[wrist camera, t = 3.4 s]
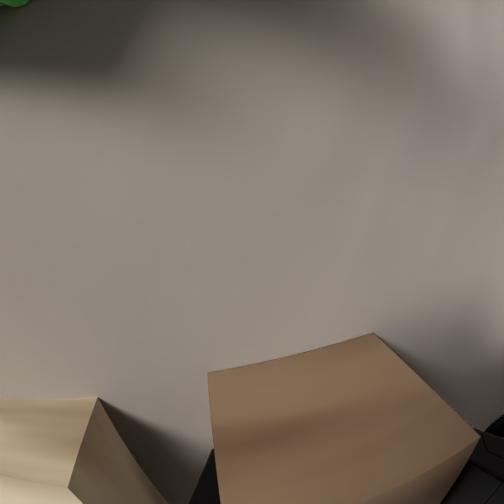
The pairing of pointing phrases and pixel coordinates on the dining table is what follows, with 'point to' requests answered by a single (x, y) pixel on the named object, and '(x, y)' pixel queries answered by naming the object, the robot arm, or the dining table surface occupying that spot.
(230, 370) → the walnut cube
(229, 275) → the dining table surface
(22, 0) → the fruit basket
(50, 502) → the beech block
